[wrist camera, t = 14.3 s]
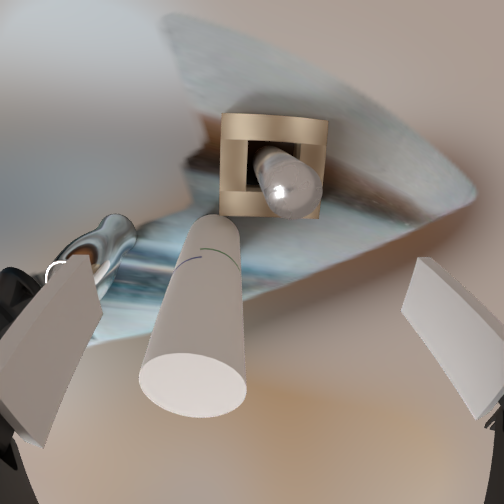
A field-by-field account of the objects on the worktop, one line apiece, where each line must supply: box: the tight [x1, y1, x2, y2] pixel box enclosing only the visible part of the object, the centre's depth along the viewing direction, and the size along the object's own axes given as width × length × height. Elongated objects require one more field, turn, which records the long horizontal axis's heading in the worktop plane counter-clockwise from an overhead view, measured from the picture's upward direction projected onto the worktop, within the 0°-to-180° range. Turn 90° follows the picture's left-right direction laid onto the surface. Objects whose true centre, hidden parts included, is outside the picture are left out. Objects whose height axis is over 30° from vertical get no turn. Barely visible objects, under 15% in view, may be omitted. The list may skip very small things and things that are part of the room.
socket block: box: [219, 113, 328, 219], centre depth 34 cm, size 12×12×4 cm
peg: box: [252, 146, 323, 219], centre depth 28 cm, size 4×4×16 cm
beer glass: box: [45, 214, 137, 301], centre depth 32 cm, size 7×7×15 cm
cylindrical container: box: [139, 214, 246, 418], centre depth 28 cm, size 7×7×25 cm
